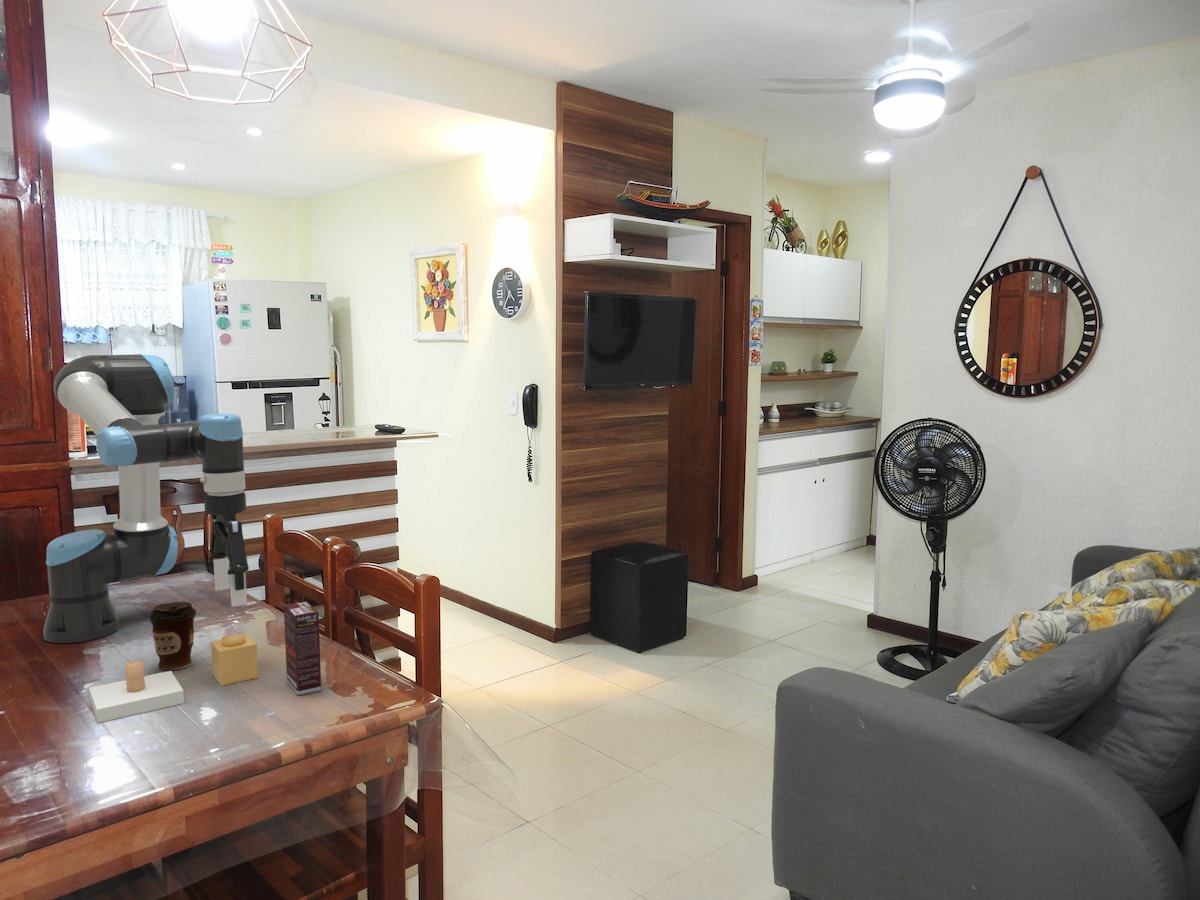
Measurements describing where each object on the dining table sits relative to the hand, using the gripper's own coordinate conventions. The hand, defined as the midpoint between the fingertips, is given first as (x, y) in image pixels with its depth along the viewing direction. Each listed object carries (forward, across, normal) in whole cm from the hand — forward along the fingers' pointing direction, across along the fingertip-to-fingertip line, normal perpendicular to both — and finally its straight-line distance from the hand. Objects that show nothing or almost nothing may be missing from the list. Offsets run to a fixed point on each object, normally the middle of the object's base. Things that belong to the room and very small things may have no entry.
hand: (230, 597), depth 168 cm
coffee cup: (+17, -14, -9) cm, 23 cm away
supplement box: (+17, +13, +10) cm, 23 cm away
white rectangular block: (+16, +2, -18) cm, 24 cm away
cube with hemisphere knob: (+17, 0, 0) cm, 17 cm away
